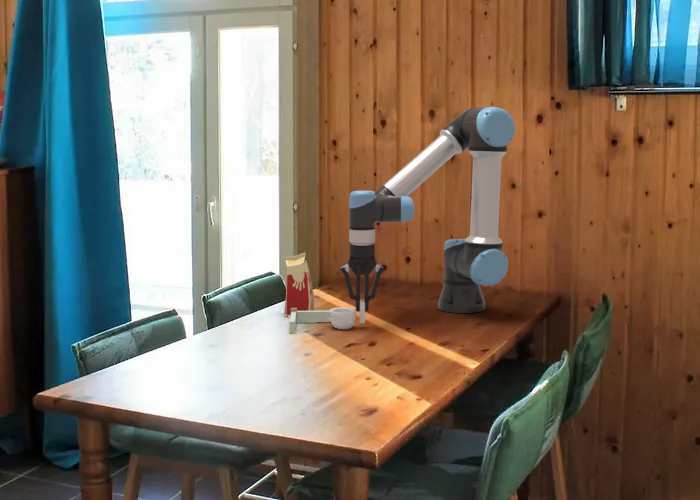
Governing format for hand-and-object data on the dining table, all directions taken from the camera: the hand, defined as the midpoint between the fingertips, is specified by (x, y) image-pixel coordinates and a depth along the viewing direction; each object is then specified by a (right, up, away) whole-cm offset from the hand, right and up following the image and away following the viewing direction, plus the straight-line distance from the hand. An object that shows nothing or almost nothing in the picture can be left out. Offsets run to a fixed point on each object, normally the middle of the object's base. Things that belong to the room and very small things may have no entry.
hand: (362, 322), depth 266 cm
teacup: (-7, -2, 0) cm, 7 cm away
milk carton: (-20, +1, +19) cm, 27 cm away
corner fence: (-15, -2, +1) cm, 15 cm away
